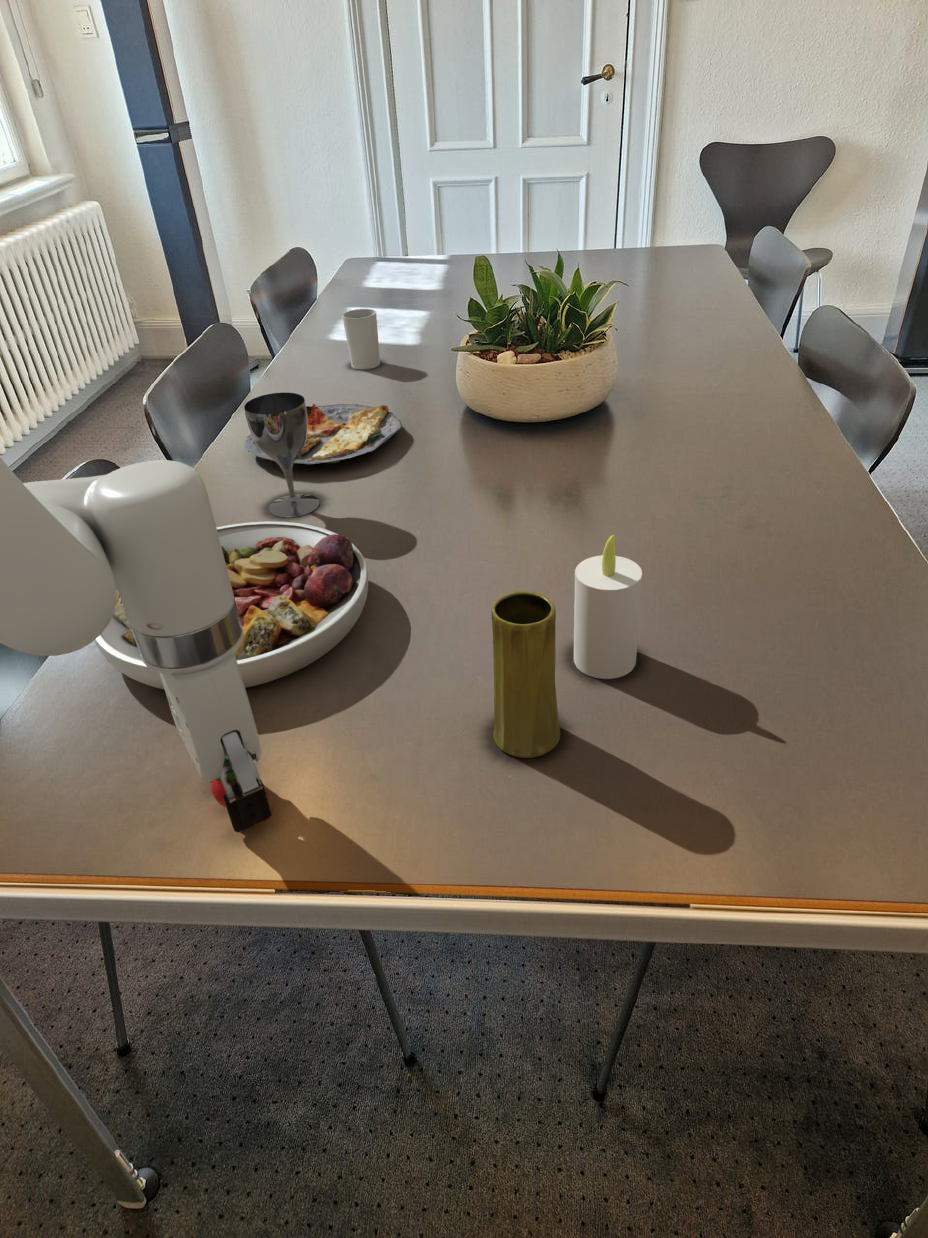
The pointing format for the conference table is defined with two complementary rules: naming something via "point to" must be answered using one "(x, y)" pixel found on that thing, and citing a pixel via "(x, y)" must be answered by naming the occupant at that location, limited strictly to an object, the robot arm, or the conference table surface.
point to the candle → (606, 614)
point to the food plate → (340, 432)
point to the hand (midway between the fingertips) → (239, 797)
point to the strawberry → (221, 787)
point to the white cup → (362, 338)
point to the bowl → (271, 600)
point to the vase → (524, 674)
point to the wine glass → (282, 443)
